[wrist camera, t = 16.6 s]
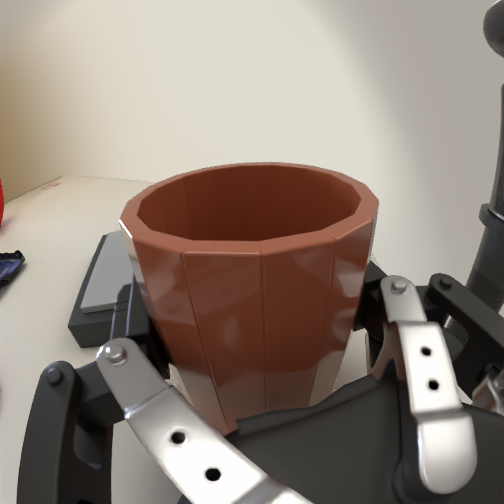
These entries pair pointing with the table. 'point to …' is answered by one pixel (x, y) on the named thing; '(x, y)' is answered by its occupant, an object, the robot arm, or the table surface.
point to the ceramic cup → (1, 203)
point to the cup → (252, 281)
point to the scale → (101, 291)
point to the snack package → (10, 264)
